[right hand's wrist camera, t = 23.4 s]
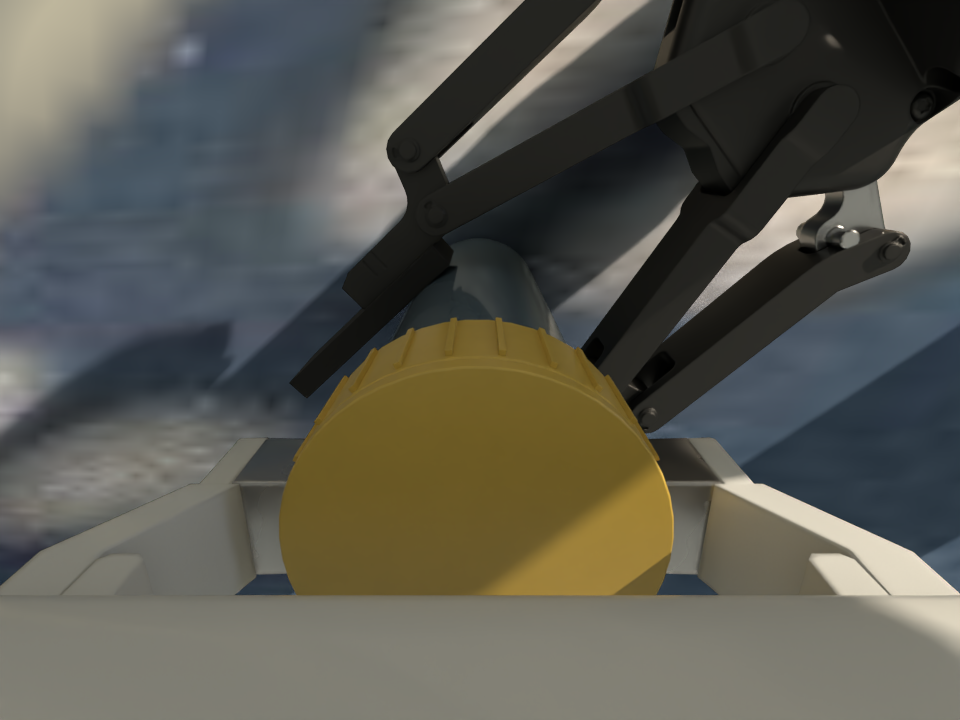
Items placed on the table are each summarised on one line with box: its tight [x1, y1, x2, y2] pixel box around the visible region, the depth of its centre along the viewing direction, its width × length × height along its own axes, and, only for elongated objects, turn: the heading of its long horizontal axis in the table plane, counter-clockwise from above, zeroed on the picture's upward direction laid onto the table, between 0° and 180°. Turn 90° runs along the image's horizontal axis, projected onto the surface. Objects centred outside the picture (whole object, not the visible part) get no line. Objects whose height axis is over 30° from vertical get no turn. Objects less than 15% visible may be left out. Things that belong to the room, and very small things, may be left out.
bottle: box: [390, 238, 566, 344], centre depth 16 cm, size 5×5×16 cm
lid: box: [279, 317, 674, 595], centre depth 9 cm, size 6×6×2 cm
